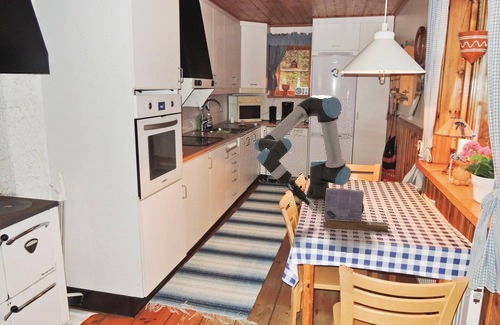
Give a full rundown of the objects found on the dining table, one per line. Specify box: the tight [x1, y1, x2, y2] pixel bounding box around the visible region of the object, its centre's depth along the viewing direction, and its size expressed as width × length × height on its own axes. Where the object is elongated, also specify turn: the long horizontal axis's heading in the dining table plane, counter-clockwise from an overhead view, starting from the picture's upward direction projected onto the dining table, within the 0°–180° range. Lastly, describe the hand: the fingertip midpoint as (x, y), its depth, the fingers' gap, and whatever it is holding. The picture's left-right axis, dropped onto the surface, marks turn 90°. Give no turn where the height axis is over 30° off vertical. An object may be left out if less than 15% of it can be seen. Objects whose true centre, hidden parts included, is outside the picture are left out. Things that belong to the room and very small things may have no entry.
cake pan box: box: [323, 187, 365, 221], centre depth 186 cm, size 19×5×18 cm, turn 82°
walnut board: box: [322, 217, 389, 233], centre depth 182 cm, size 5×30×3 cm, turn 80°
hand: (313, 208), depth 189 cm, fingers closed
